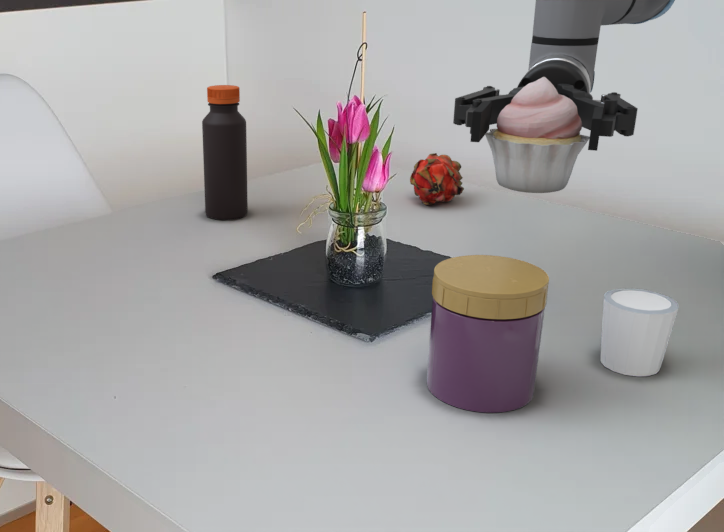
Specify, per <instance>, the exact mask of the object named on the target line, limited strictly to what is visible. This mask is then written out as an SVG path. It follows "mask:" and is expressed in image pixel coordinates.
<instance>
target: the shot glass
mask: <svg viewBox="0 0 724 532" xmlns="http://www.w3.org/2000/svg"><path fill="white" fill-rule="evenodd" d="M679 308H680V305H679V303H678V301H677V300H675V299H674V298H673V297H671V296H668V295H666V294H664V293H662V292H658V291H654V290H649V289H646V288H645V289H644V288H634V287H620V288H614V289H610V290H608V291H606V292H605V293H604V294H603V306H602V321H601V322H602V324H601V338H600V339H601V342H600V356H599V357H600V363H601V364H602V365H603V366H604V367H605V368H606V369H608V370H610V371H611V372H614V373H618V374H621V375H625V376H631V377H650V376H653V375H657V373H658V372H659V371H660V370H661V367H662V365H663V360H664V358H665V355H666V351H667V348H668V345H669V341H670V338H671V335H672V331H673V328H674V325H675V321H676V318H677V315H678V312H679Z"/></svg>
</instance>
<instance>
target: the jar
mask: <svg viewBox="0 0 724 532" xmlns="http://www.w3.org/2000/svg"><path fill="white" fill-rule="evenodd" d="M431 302H432V303H431V315H430V316H431V318H430V329H429V345H428V356H427V357H428V359H427V369H426V370H427V371H426V387H427V389H428V391H429V392H430V393H431V394H432V395H433V396H434V397H435V398H436V399H438V400H440V401H441V402H443V403H445V404H447V405H450V406H451V407H454V408H457V409H461V410H466V411H470V412H476V413H487V414H489V413H492V414H493V413H496V414H497V413H506V412H513V411H515V410H518V409H522V408H523V407H525V406H527V405H528V404H529V403H530V402H531V401H532V400H533V398H534V395H535V388H536V380H537V373H538V366H539V365H538V364H539V357H540V349H541V342H542V334H543V327H544V326H543V325H544V320H545V319H544V318H545V312H546V311H545V310H546V306H545V307H544V309H543V310H542V311H540V312H539V313H537V314H534V315H532V316H528V317H524V318H517V319H485V318H478V317H472V316H467V315H463V314H460V313H457V312H454V311H451V310H449V309H447V308H445V307H443V306H441V305H440V304H438V303H437V302H436V301H435V299H434V297H433V296H432V301H431Z"/></svg>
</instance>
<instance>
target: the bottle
mask: <svg viewBox="0 0 724 532" xmlns="http://www.w3.org/2000/svg"><path fill="white" fill-rule="evenodd" d="M240 91H241V90H240V87H239V86H238V85H233V84H232V85H231V84H217V85H216V84H215V85H209V86H207V87H206V96H207V97H206V98H207V100H206V101H207V106H209V112H208V113H207V114H206V115H205V117H204V118H203V119H202V121H201V129H202V155H203V158H202V160H203V183H204V184H203V187H204V212H205V216H207V217H208V218H210V219H212V220H219V221H231V220H232V221H233V220H238V219H239V220H240V219H242V218H244V217H246V216H247V214H248V211H249V210H248V209H249V207H248V203H249V202H248V153H247V152H248V151H247V150H248V149H247V147H248V146H247V143H248V142H247V120H246V119H245V118H246V117H244V116H243V114H241V113H240V111H239V107H238V106H240V102H241V96H240V93H241V92H240Z"/></svg>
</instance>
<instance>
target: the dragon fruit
mask: <svg viewBox="0 0 724 532" xmlns="http://www.w3.org/2000/svg"><path fill="white" fill-rule="evenodd" d="M461 169H462V165H461V163H460V162H459V161H457V160H452V158H451V156H450V155H447V154H439V155H438V153H437V152H433V153H429V154H428V155H427V157H426V158H425V159H419V160H418V161H416V162H415V164H414V165H413V170H412V173H411V174H410V177H409V184H410V185H413V192H414V196H416V197H418V198H419V200H420V201H421V203H422V204H424V205H425V206H431V205H434V204H435V203H436V202H440V203H443V202H444V203H449V202H451V201H452V200H453V199H454V198H455V197H456V196H459V195H461V194H462V193H463V192H464V191H465V188H464V187H463V186H462V185H463V182H462V180H463V178H464V177H463V176H462V174H461V172H460V170H461Z"/></svg>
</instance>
